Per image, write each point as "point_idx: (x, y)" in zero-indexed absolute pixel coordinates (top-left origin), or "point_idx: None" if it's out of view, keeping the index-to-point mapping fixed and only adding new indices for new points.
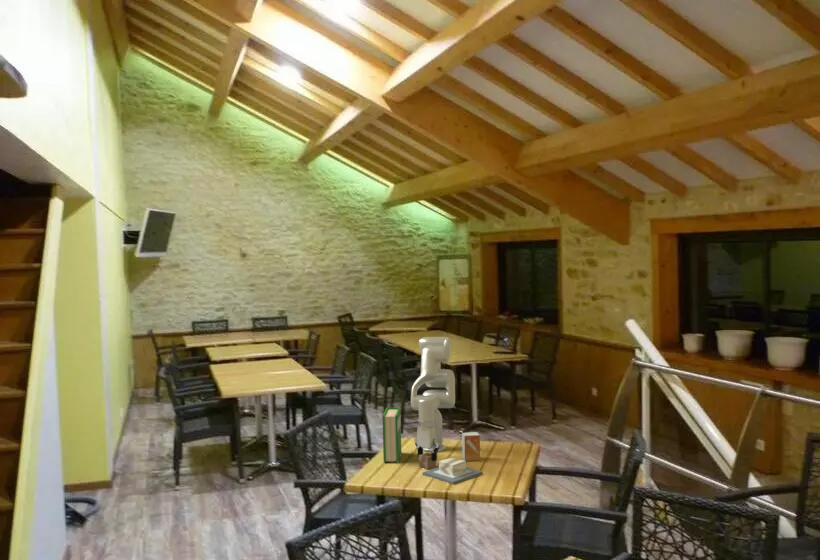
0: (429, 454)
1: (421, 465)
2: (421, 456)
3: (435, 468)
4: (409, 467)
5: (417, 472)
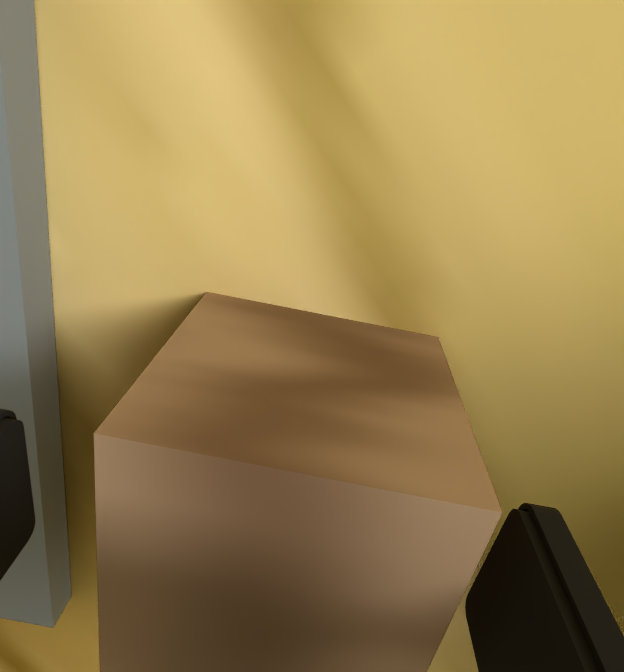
0: (257, 656)
1: (369, 345)
2: (367, 476)
3: (13, 323)
4: (615, 222)
5: (255, 8)
